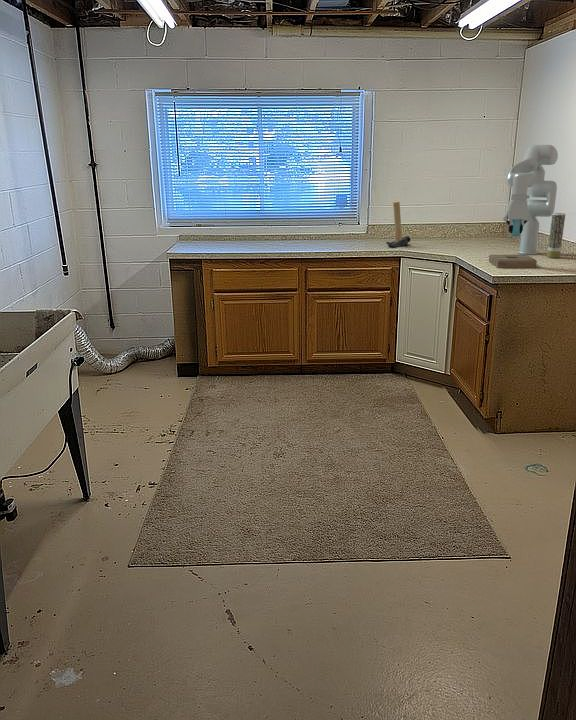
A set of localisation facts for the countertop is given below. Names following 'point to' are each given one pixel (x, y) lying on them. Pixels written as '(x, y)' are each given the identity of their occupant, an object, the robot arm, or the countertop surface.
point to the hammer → (398, 228)
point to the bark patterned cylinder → (556, 235)
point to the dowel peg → (516, 227)
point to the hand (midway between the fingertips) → (515, 232)
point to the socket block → (512, 261)
